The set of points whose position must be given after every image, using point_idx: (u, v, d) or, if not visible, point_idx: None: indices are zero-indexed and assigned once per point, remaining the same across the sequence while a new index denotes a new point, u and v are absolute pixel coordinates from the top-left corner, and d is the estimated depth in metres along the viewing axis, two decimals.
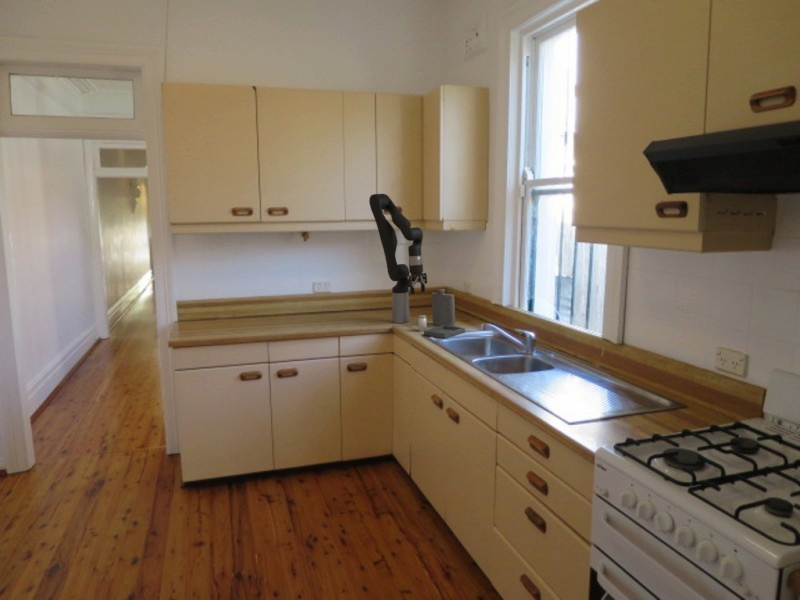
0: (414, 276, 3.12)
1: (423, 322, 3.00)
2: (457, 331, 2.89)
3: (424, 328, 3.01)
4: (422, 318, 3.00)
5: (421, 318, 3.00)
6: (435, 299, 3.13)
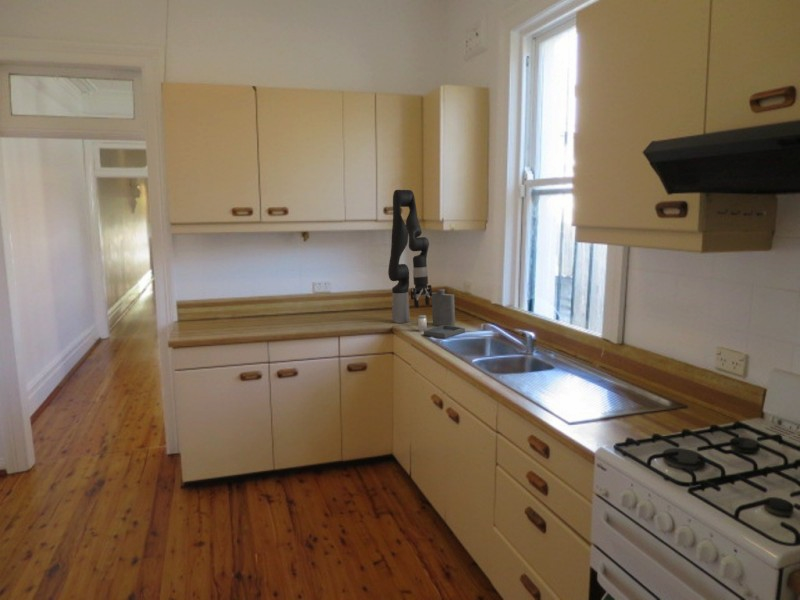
0: (418, 288, 2.97)
1: (423, 322, 3.00)
2: (457, 331, 2.89)
3: (424, 328, 3.01)
4: (422, 318, 3.00)
5: (421, 318, 3.00)
6: (435, 299, 3.13)
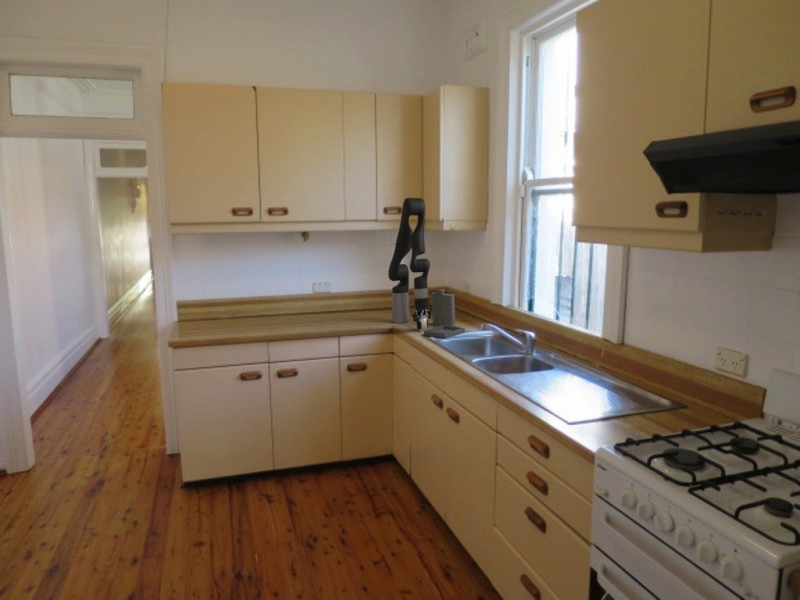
0: (419, 311, 2.99)
1: (423, 322, 3.00)
2: (457, 331, 2.89)
3: (424, 328, 3.01)
4: (422, 318, 3.00)
5: (421, 318, 3.00)
6: (435, 299, 3.13)
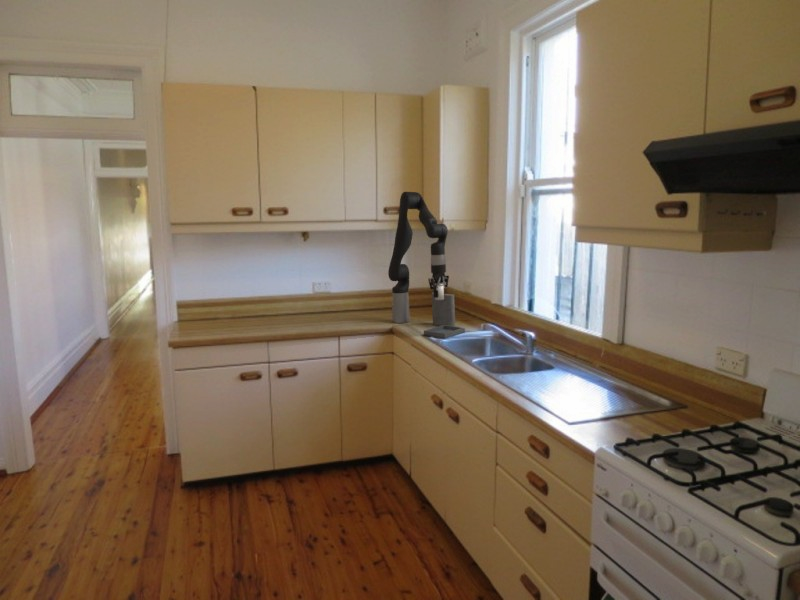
0: (436, 278, 2.87)
1: (440, 290, 2.89)
2: (457, 331, 2.89)
3: (441, 296, 2.89)
4: (439, 286, 2.88)
5: (438, 286, 2.88)
6: None
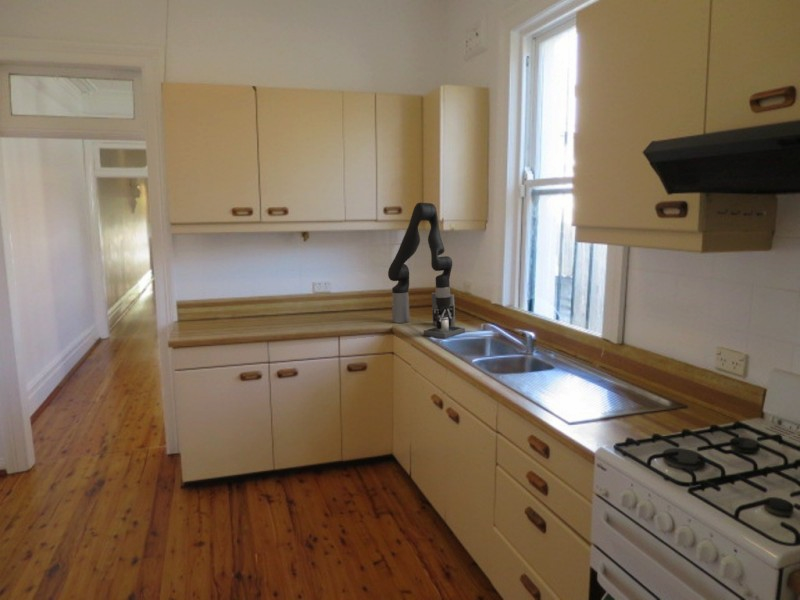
0: (441, 309, 2.88)
1: (445, 324, 2.90)
2: (457, 331, 2.89)
3: (446, 330, 2.91)
4: (444, 320, 2.90)
5: (443, 320, 2.90)
6: (435, 299, 3.13)
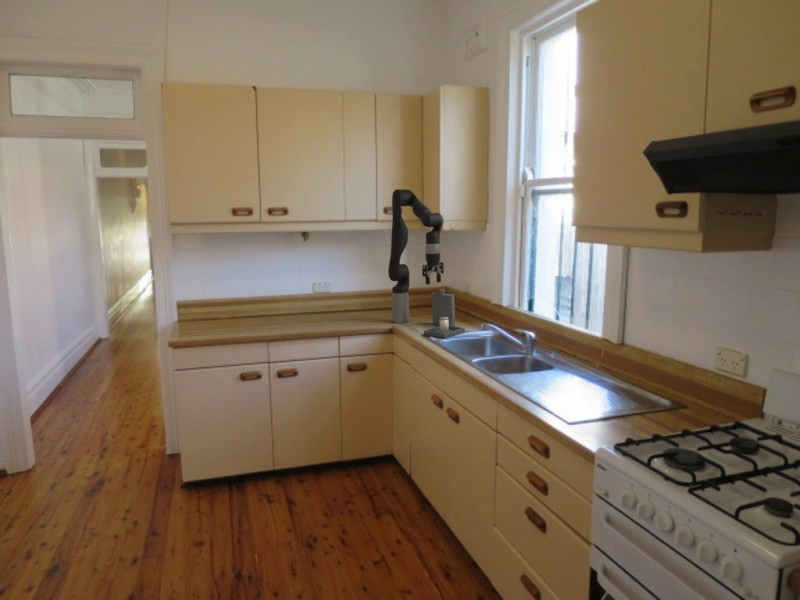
0: (430, 265, 2.91)
1: (445, 324, 2.90)
2: (457, 331, 2.89)
3: (446, 330, 2.91)
4: (444, 320, 2.90)
5: (443, 320, 2.90)
6: (435, 299, 3.13)
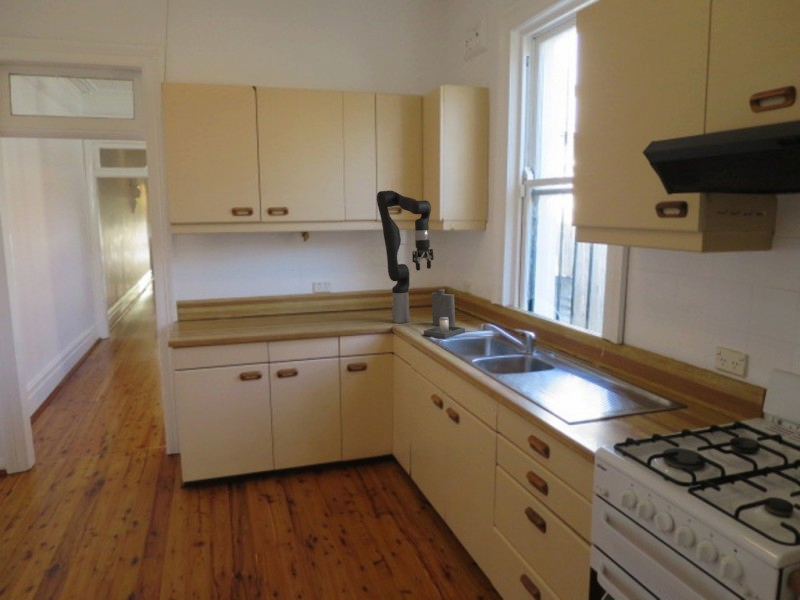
0: (420, 251, 2.99)
1: (445, 324, 2.90)
2: (457, 331, 2.89)
3: (446, 330, 2.91)
4: (444, 320, 2.90)
5: (443, 320, 2.90)
6: (435, 299, 3.13)
